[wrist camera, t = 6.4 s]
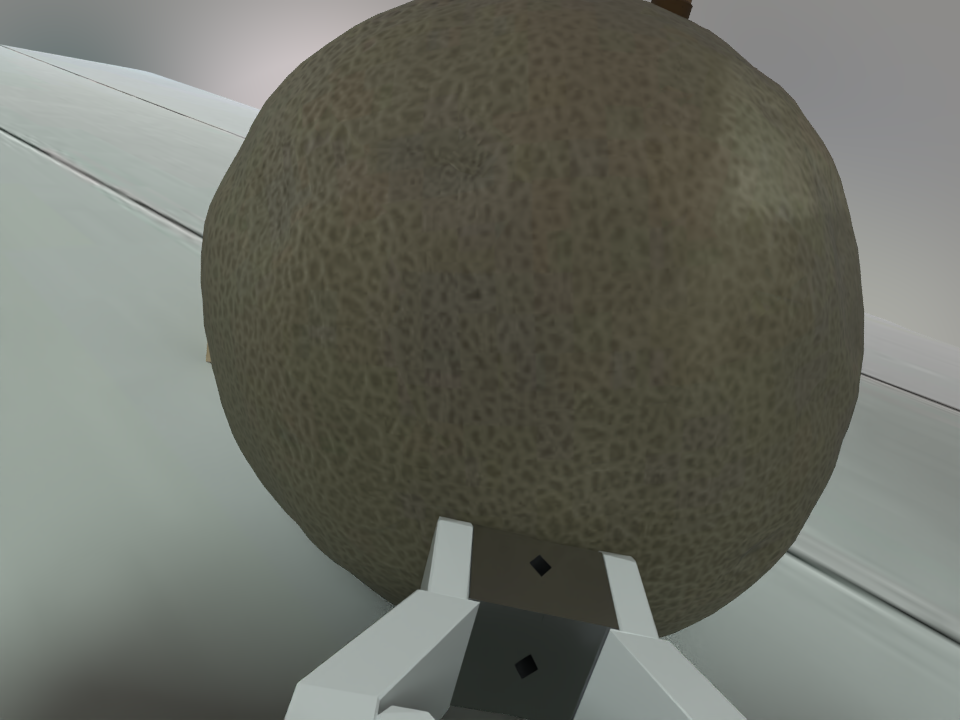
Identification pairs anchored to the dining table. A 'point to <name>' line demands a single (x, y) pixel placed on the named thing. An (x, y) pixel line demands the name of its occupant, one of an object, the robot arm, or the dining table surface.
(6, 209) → the dining table surface
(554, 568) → the robot arm
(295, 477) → the cantaloupe
